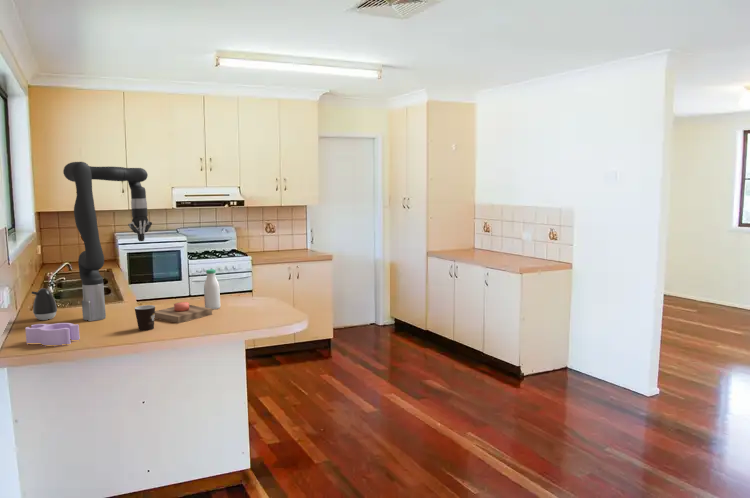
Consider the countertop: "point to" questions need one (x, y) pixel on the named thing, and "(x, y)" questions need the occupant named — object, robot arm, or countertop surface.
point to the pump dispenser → (44, 305)
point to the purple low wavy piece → (52, 333)
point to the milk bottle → (211, 290)
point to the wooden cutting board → (182, 314)
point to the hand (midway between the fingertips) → (141, 241)
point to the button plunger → (181, 306)
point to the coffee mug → (145, 317)
